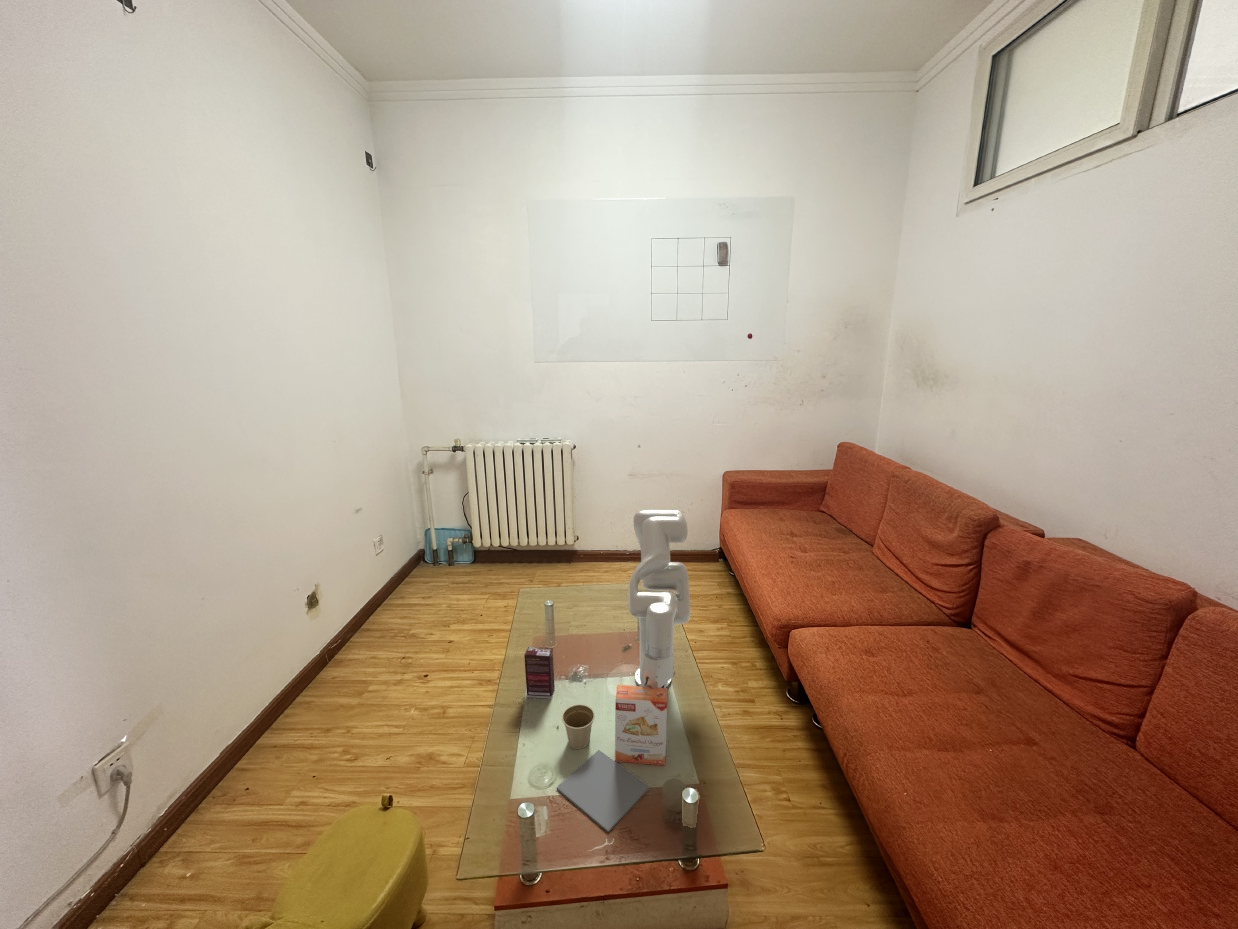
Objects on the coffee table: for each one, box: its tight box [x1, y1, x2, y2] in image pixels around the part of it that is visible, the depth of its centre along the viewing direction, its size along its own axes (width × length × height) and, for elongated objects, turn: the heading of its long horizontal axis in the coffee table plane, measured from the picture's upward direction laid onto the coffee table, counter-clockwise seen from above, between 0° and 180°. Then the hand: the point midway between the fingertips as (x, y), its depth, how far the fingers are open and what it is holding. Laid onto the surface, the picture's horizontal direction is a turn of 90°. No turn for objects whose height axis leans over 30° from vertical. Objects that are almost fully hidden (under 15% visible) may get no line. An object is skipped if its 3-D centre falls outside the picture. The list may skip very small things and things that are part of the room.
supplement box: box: [523, 646, 556, 699], centre depth 160 cm, size 9×5×16 cm, turn 85°
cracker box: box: [614, 684, 668, 766], centre depth 134 cm, size 14×6×21 cm, turn 85°
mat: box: [556, 749, 650, 833], centre depth 127 cm, size 16×18×1 cm
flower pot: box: [561, 704, 596, 750], centre depth 141 cm, size 9×9×9 cm
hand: (658, 703), depth 140 cm, fingers closed
